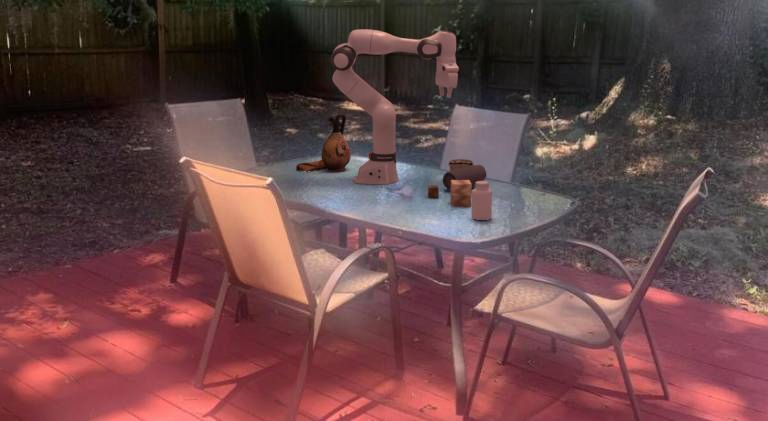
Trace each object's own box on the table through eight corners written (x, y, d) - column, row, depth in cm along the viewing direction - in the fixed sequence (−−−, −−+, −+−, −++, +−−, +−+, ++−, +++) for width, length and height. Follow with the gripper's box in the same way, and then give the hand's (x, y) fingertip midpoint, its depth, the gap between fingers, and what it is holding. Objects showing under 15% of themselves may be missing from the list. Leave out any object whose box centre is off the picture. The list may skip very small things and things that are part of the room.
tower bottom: (452, 207, 291) (452, 195, 290) (450, 202, 299) (450, 191, 298) (470, 206, 291) (471, 195, 290) (468, 202, 299) (469, 190, 298)
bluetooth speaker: (471, 182, 334) (472, 162, 331) (487, 185, 327) (487, 165, 325) (441, 190, 319) (441, 169, 316) (456, 194, 312) (457, 172, 309)
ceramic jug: (336, 174, 352) (334, 116, 343) (315, 170, 362) (314, 114, 353) (359, 169, 364) (358, 113, 355) (339, 165, 374) (337, 110, 365)
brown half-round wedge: (472, 178, 341) (473, 159, 338) (473, 181, 335) (473, 161, 332) (448, 178, 342) (448, 158, 339) (447, 181, 336) (448, 161, 333)
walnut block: (428, 198, 305) (428, 187, 303) (427, 196, 309) (428, 185, 307) (438, 198, 305) (438, 187, 303) (437, 196, 309) (438, 185, 307)
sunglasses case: (305, 172, 356) (301, 161, 357) (299, 177, 361) (294, 166, 362) (332, 167, 368) (328, 156, 369) (325, 172, 373) (321, 161, 374)
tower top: (452, 195, 290) (452, 184, 288) (450, 191, 297) (450, 180, 296) (471, 195, 290) (471, 184, 288) (468, 191, 298) (469, 179, 296)
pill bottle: (469, 216, 277) (470, 180, 273) (488, 215, 278) (490, 179, 274) (473, 221, 270) (474, 184, 266) (493, 221, 270) (494, 184, 266)
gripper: (432, 65, 326) (431, 94, 329) (447, 68, 307) (446, 99, 310) (444, 65, 327) (444, 94, 331) (460, 68, 308) (459, 98, 312)
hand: (445, 96), depth 320 cm, fingers open, 8 cm apart
